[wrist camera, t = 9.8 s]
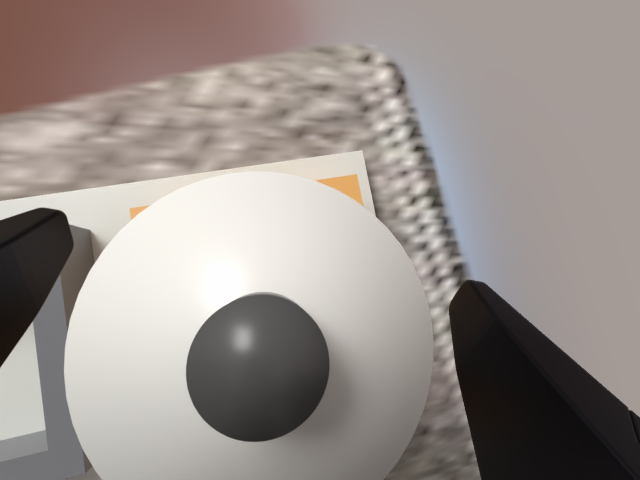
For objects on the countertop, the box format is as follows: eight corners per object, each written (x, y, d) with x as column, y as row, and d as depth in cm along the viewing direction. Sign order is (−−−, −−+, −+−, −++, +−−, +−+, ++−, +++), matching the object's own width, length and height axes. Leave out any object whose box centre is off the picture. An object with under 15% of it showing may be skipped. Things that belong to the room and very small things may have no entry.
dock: (407, 400, 17) (442, 431, 13) (-138, 542, 13) (-283, 635, 10) (357, 157, 18) (378, 128, 14) (-161, 231, 14) (-299, 216, 11)
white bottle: (302, 366, 15) (415, 671, 3) (198, 336, 15) (-96, 568, 3) (332, 264, 16) (515, 220, 4) (234, 233, 15) (112, 80, 4)
